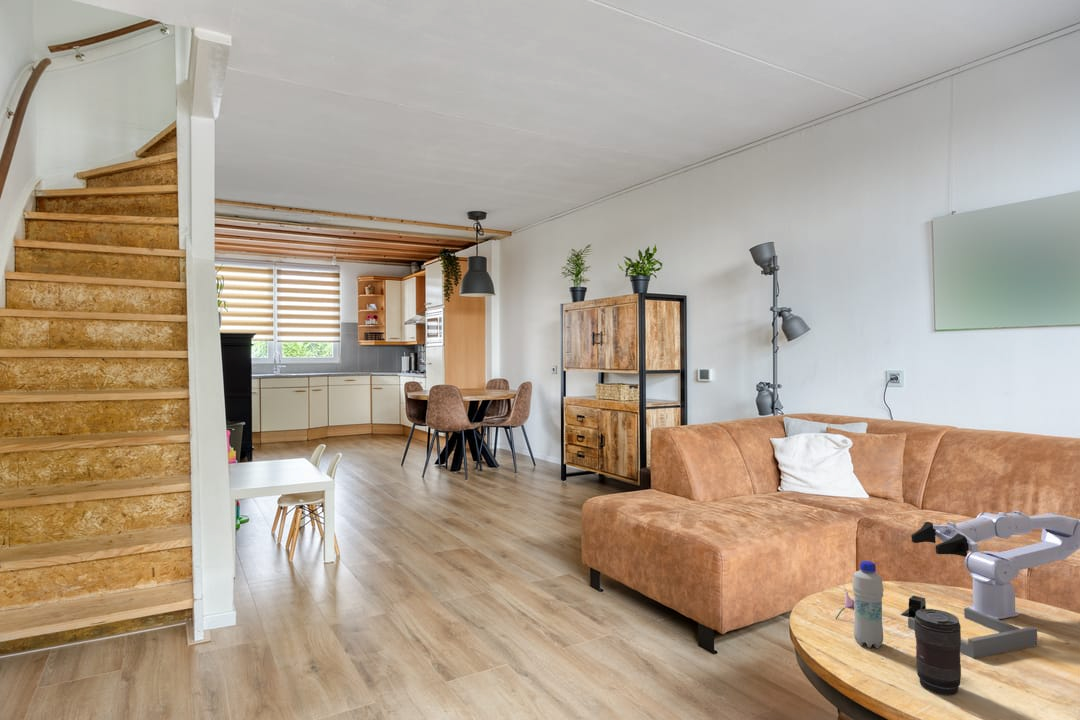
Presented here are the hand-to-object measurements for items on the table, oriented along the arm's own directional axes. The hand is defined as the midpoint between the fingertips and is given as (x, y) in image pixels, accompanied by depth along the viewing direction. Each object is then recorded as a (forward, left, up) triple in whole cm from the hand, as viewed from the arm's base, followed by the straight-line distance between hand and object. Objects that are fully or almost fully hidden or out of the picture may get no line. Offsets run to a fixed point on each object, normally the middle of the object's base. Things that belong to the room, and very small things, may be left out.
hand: (924, 544), depth 160 cm
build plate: (-2, -4, -21) cm, 21 cm away
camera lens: (+27, +26, -20) cm, 42 cm away
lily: (+18, -6, -20) cm, 28 cm away
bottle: (+25, +6, -20) cm, 32 cm away
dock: (-2, +10, -20) cm, 22 cm away
